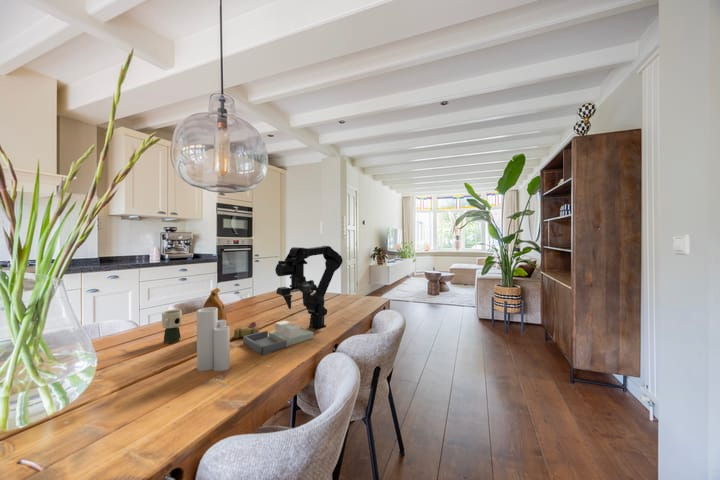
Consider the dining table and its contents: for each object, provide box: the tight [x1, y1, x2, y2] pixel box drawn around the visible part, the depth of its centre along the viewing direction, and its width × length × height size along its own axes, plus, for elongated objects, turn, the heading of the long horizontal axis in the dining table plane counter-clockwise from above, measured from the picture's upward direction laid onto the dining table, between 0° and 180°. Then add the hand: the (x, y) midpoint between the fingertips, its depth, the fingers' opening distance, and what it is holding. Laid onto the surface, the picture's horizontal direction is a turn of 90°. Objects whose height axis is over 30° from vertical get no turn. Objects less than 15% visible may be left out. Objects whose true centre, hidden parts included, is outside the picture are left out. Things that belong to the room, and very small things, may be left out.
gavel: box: [233, 321, 260, 339], centre depth 140 cm, size 21×5×10 cm
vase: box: [196, 307, 231, 372], centre depth 102 cm, size 11×7×20 cm, turn 89°
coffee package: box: [202, 287, 227, 324], centre depth 128 cm, size 10×12×22 cm
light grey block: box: [284, 323, 301, 339], centre depth 126 cm, size 5×5×4 cm
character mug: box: [161, 309, 183, 344], centre depth 126 cm, size 11×7×13 cm, turn 9°
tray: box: [242, 330, 288, 356], centre depth 121 cm, size 11×17×3 cm, turn 44°
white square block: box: [274, 320, 292, 334], centre depth 131 cm, size 5×5×4 cm
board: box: [268, 326, 314, 347], centre depth 130 cm, size 14×14×2 cm
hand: (297, 307), depth 136 cm, fingers open, 8 cm apart
